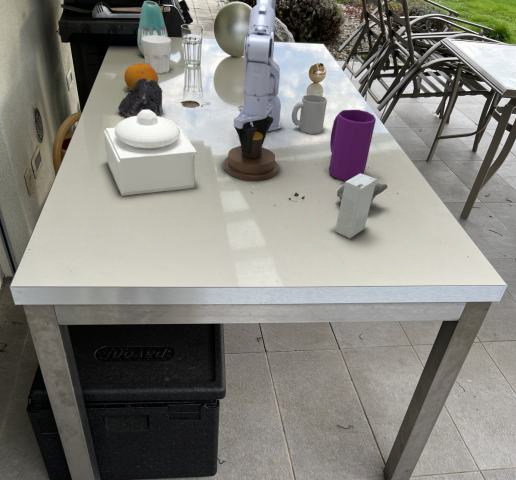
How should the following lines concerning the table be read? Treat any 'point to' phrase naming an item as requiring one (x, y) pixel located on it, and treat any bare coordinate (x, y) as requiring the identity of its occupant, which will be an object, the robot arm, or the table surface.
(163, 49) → the cup
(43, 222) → the table surface
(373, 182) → the cosmetic box
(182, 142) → the butter dish
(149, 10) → the vase
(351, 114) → the mug
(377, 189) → the fossil
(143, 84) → the crystal cluster
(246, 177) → the pod stand
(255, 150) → the coffee pod
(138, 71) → the fruit
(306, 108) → the cup
